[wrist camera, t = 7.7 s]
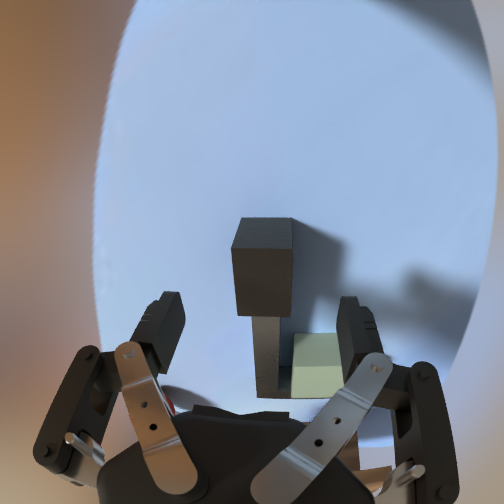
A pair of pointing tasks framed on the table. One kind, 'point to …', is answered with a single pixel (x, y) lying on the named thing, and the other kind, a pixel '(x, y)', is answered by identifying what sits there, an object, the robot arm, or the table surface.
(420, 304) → the table surface
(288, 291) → the mallet
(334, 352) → the block
